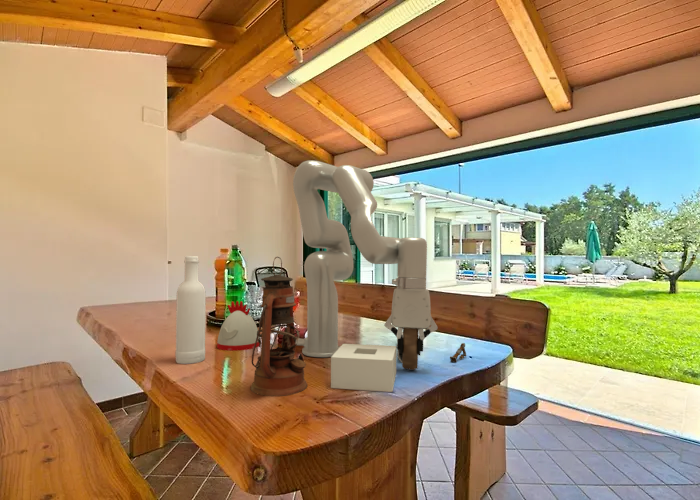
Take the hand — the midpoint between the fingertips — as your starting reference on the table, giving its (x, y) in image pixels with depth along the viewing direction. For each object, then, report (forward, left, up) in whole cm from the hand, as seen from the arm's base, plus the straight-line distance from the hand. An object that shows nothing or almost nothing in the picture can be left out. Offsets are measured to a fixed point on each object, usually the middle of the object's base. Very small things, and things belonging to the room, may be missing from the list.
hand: (410, 352), depth 102 cm
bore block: (-10, -10, -5) cm, 15 cm away
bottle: (-62, -2, -5) cm, 63 cm away
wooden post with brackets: (+13, +14, -5) cm, 20 cm away
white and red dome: (-57, +18, -5) cm, 60 cm away
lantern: (-29, -18, -5) cm, 35 cm away
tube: (-2, +20, -5) cm, 20 cm away
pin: (0, 0, -4) cm, 4 cm away
